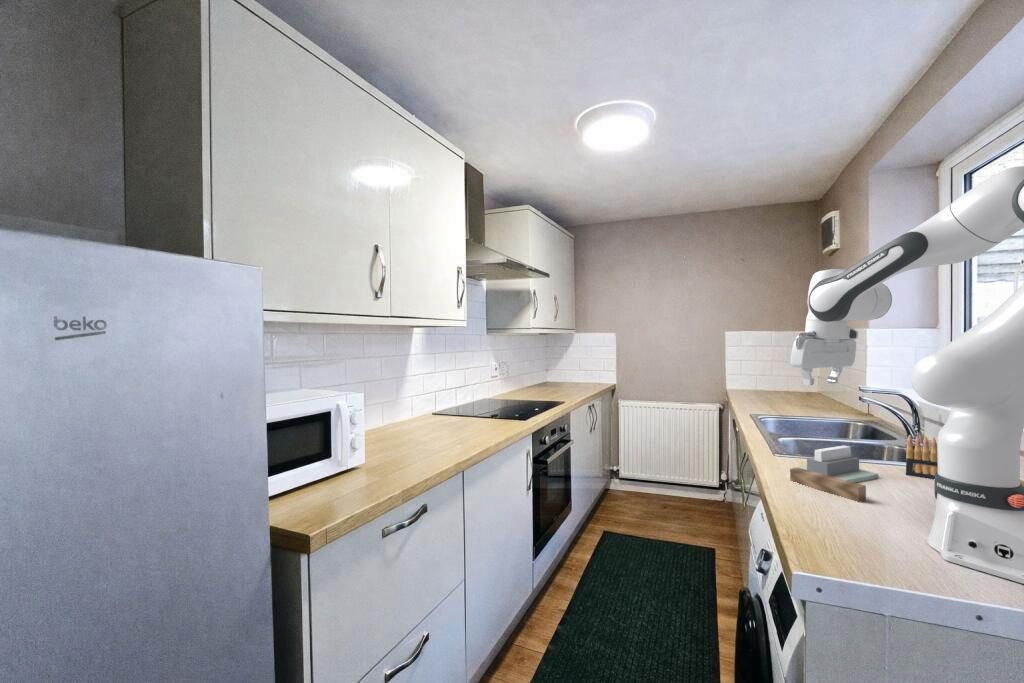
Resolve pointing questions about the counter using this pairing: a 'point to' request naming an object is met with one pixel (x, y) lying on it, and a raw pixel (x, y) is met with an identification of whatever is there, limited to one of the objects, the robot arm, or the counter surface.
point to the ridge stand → (838, 464)
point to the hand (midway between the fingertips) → (820, 384)
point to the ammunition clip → (921, 458)
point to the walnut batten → (829, 484)
